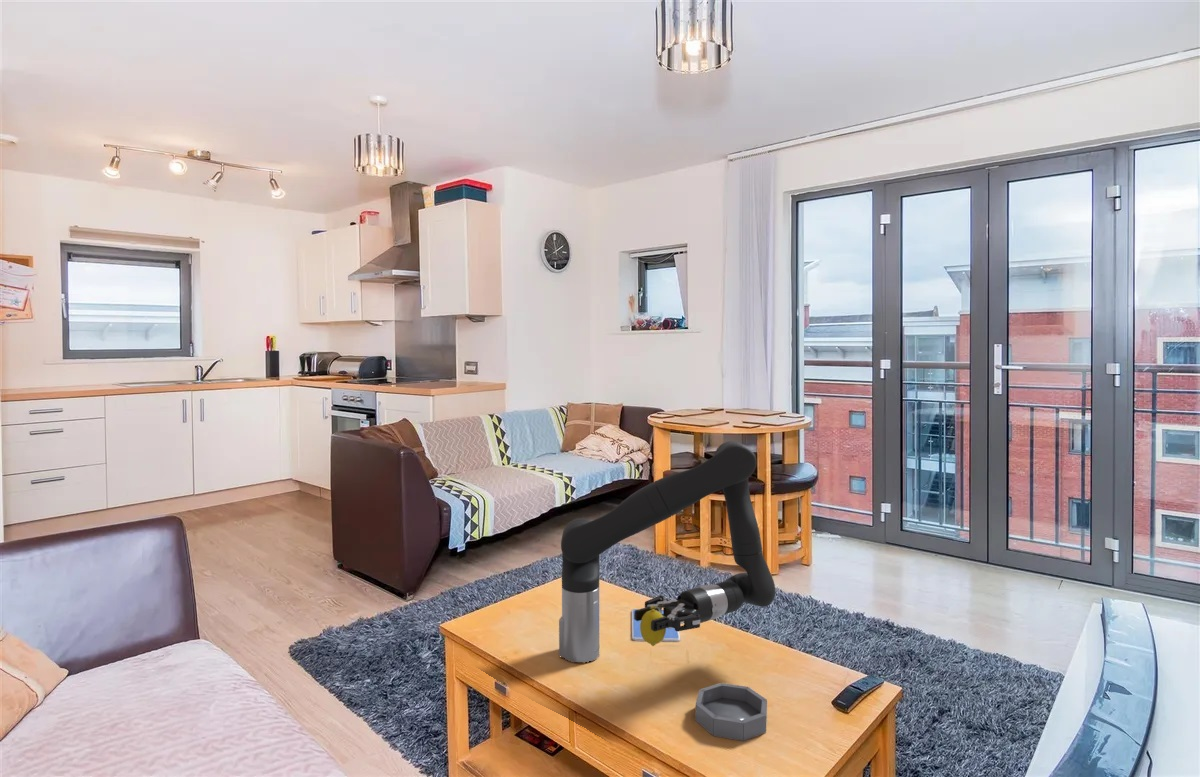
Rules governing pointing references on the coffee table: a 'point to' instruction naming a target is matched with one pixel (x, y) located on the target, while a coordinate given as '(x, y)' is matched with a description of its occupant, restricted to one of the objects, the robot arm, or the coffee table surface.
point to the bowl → (731, 711)
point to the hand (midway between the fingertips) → (643, 621)
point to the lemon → (645, 628)
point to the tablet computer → (636, 636)
